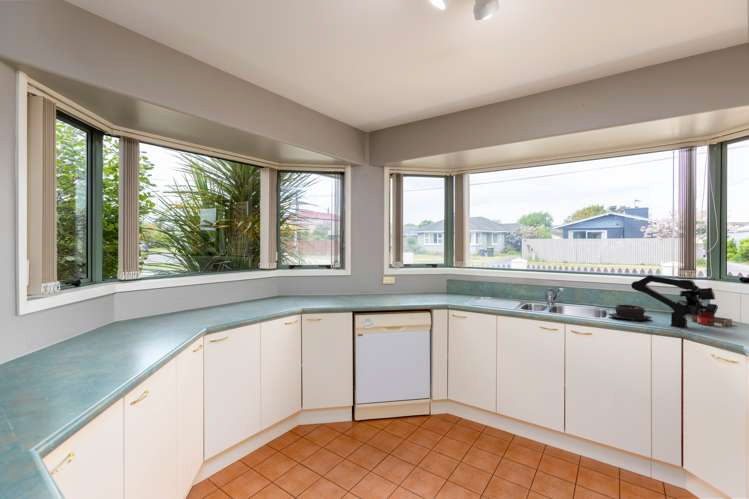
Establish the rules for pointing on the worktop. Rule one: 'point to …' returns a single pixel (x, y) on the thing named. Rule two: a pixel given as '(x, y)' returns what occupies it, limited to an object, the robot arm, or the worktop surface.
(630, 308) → the casserole
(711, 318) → the canned food
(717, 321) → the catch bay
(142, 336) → the worktop surface
